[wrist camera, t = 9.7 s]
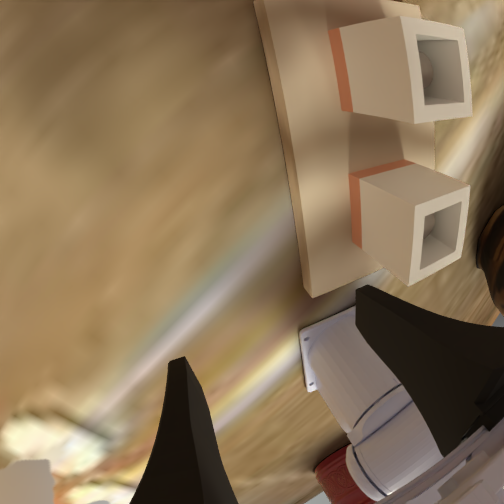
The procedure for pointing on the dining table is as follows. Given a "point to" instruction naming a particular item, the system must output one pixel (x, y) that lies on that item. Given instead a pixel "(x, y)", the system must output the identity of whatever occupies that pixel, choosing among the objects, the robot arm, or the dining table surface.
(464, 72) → the sleeve
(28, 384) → the dining table surface
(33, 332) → the dining table surface
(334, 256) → the pin board
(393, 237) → the seated sleeve
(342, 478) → the canister
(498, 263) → the ceramic jug
